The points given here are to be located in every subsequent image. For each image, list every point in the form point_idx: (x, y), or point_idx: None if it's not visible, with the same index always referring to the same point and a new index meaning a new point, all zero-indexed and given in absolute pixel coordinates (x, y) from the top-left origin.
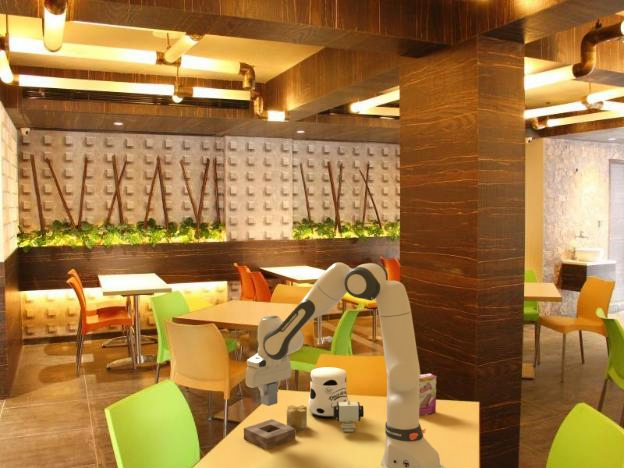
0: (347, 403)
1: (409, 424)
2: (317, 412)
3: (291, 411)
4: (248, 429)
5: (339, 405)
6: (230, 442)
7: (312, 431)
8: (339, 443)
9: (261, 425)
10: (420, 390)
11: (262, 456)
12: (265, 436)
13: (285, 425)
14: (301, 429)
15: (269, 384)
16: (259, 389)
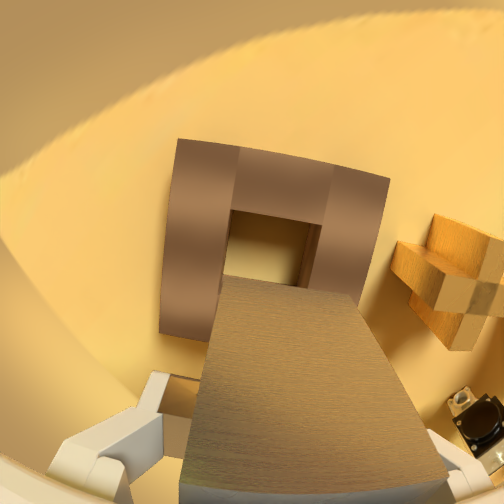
0: (495, 460)
1: None
2: None
3: (438, 308)
4: (180, 173)
5: (480, 457)
6: (120, 128)
7: (424, 332)
8: None
9: (276, 192)
10: None
11: (118, 331)
12: (171, 313)
13: (352, 300)
14: (412, 306)
15: None
16: (104, 429)
